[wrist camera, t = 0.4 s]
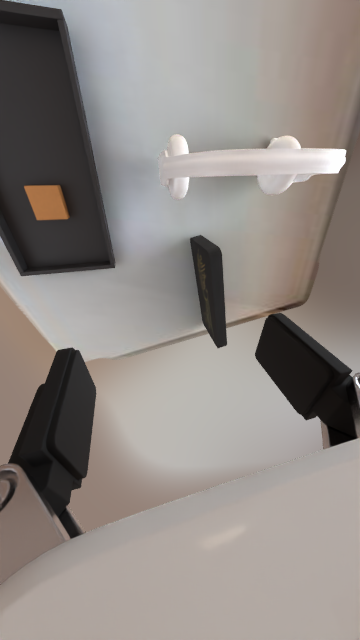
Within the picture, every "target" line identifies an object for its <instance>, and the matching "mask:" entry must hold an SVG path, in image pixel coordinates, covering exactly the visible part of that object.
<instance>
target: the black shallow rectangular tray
mask: <svg viewBox="0 0 360 640" xmlns="http://www.w3.org/2000/svg"><path fill="white" fill-rule="evenodd" d="M27 185H60V186H61V189H62V193H63V196H64V199H65V203H66V206H67V209H68V213H69V216H70V218H68V219H59V220H37V219H36V216H35V214H34V211H33V209H32V206H31V204H30V201H29V198H28V196H27V193H26V191H25V188H24V186H27ZM0 236H1V238H2V240H3V242H4V244H5V246H6V248H7V250H8V252H9V254H10V256H11V258H12V260H13V261H14V263H15V265H16V267H17V269H18V271H19V272H20V275H21V276H29V275H40V274H51V273H63V272H74V271H85V270H96V269H108V268H115V259H114V254H113V249H112V245H111V240H110V235H109V230H108V225H107V220H106V215H105V210H104V205H103V200H102V195H101V190H100V185H99V180H98V175H97V171H96V166H95V161H94V156H93V151H92V146H91V141H90V136H89V131H88V126H87V121H86V116H85V111H84V106H83V101H82V97H81V92H80V87H79V82H78V77H77V72H76V67H75V62H74V57H73V52H72V47H71V42H70V37H69V32H68V27H67V24H66V22H65V19H64V16H63V13H62V10H61V9H55V8H49V7H42V6H36V5H30V4H23V3H17V2H11V1H4V0H0Z"/></svg>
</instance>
